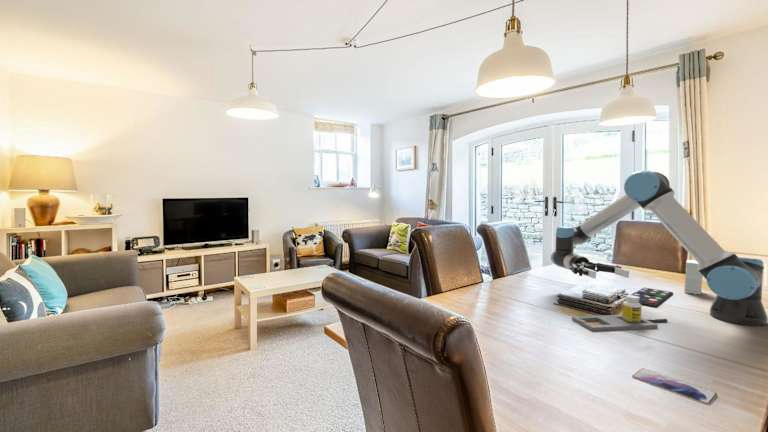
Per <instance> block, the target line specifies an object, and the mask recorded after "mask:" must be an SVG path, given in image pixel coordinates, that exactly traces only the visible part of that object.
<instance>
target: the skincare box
mask: <svg viewBox="0 0 768 432" xmlns="http://www.w3.org/2000/svg"><path fill="white" fill-rule="evenodd" d="M685 263H686V264H685V280H684V290H683V291H684V292H685V294H689V293H694V294H693V295H696V294H702V283H703V275H702V274H701V273H700V272H699V271H698V262H697V261H696V260H695V259H694V260H693V259H686V262H685ZM684 292H683V293H684Z"/></svg>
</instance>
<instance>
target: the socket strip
mask: <svg viewBox="0 0 768 432" xmlns="http://www.w3.org/2000/svg"><path fill="white" fill-rule="evenodd" d="M622 316H623V314H604V315H602V314H601V315H580V316H578V315H577V316H572V317H571V320H572V321H573V322H575V323H578V324H579V325H581V326H583V327H584V328H585V329H588V330H590V331H592V332H597V331H598V332H600V331H601V332H602V331H621V330H622V331H625V330H646V329H647V330H648V329H658V327H659V326H658V324H656V323H667V322H668V319H667V318H660V319H659V318H657V319H656V318H655V319H654V318H653V319H646V318H642V317H641V323H635V324H630V323H628V322H625V321H623V320H622ZM589 322H599V323H601V324H594V325H593V324H591V323H589Z"/></svg>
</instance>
